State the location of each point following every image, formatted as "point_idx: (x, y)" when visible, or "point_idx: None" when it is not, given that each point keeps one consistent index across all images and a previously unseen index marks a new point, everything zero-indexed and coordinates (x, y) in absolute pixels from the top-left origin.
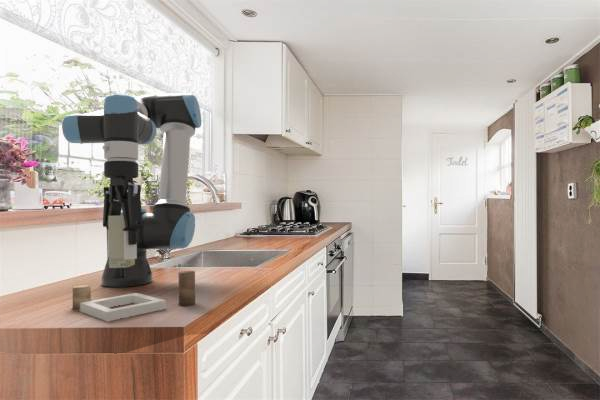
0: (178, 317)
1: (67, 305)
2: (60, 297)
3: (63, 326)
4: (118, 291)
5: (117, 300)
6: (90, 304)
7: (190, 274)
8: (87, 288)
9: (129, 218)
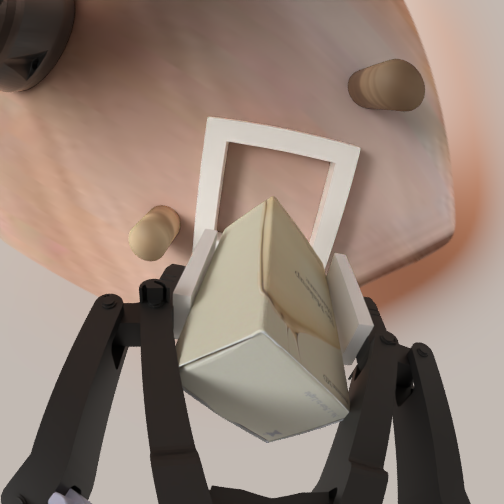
0: (422, 190)
1: (124, 227)
2: (52, 197)
3: None
4: (83, 87)
5: (221, 180)
6: None
7: (421, 97)
8: (165, 239)
9: (393, 410)
